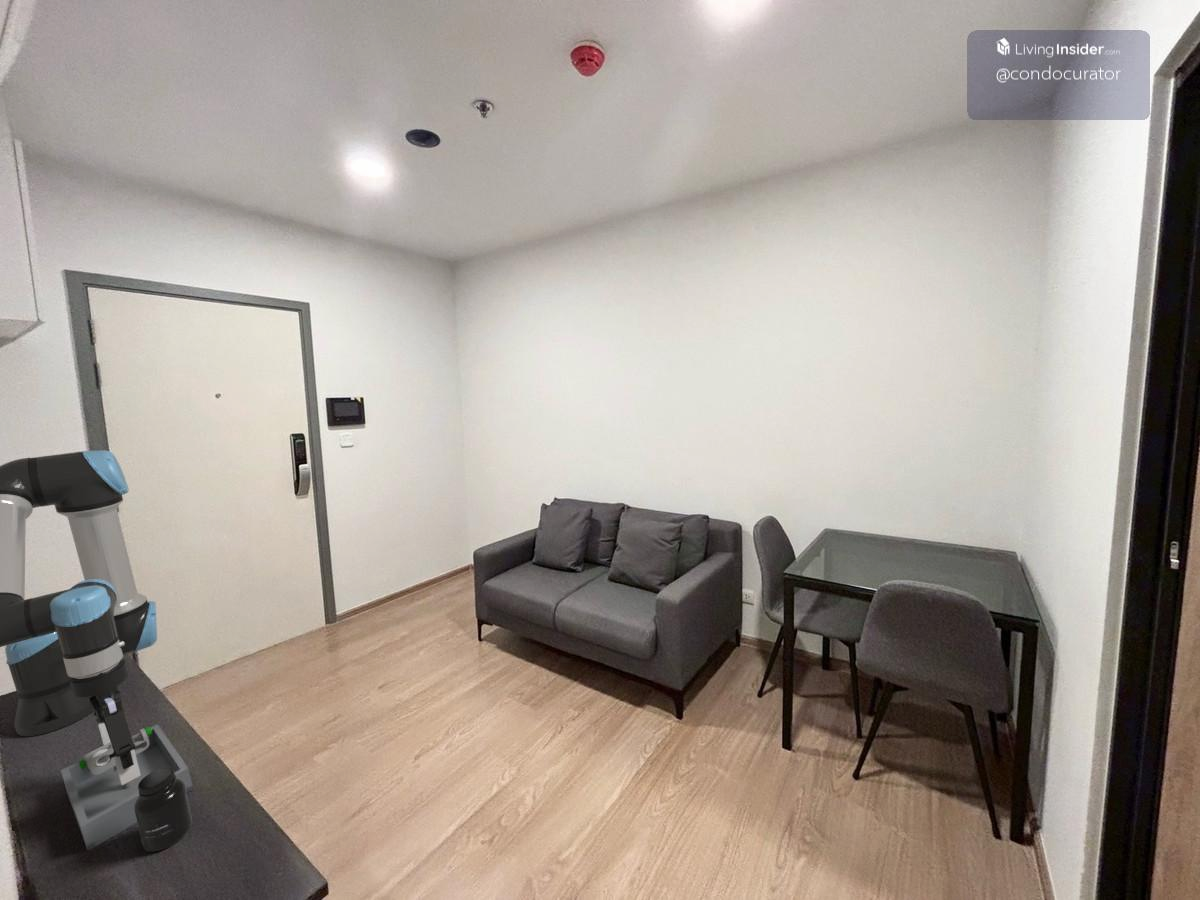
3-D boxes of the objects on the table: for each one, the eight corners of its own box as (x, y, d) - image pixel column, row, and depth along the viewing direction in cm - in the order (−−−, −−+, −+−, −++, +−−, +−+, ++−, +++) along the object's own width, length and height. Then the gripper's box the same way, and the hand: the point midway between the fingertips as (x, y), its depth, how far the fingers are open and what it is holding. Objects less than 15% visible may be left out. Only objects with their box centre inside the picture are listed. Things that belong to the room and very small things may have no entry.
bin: (66, 791, 100) (60, 770, 99) (162, 743, 111) (157, 724, 110) (87, 851, 87) (80, 827, 86) (193, 789, 98) (188, 768, 97)
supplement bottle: (151, 860, 84) (136, 801, 82) (137, 842, 88) (122, 784, 86) (200, 828, 90) (186, 771, 88) (185, 811, 94) (171, 756, 91)
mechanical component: (163, 770, 102) (151, 728, 100) (95, 809, 94) (80, 764, 92) (159, 764, 104) (147, 723, 102) (91, 801, 96) (77, 758, 94)
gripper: (140, 679, 90) (164, 779, 93) (110, 638, 104) (132, 726, 108) (81, 703, 84) (110, 809, 87) (58, 656, 98) (84, 749, 102)
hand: (122, 763), depth 98 cm, fingers open, 13 cm apart
